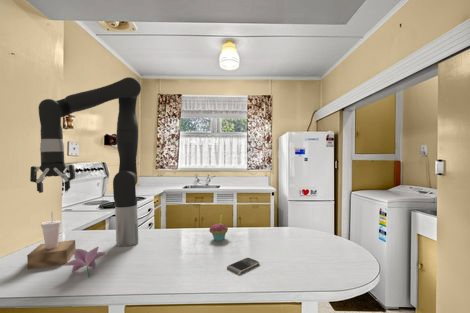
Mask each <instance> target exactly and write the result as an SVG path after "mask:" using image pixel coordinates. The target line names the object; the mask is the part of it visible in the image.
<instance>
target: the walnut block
mask: <svg viewBox="0 0 470 313" xmlns="http://www.w3.org/2000/svg"><path fill="white" fill-rule="evenodd" d="M75 249H76V239H73V240H72V239H71V240H63V241H58V246H57V247H55V248H51V249H46V246H45V243H40V244H39V245H38V246H37V247H35V248H34V249H33V250H31V251H30V252H29V253H28V254H27V255H26V258H27V259H26V260H27V261H26V262H27V269H28V270H31V269H36V268H37V269H38V268H42V267H50V266H51V267H52V266H57V264H58V265H62V264H63V263H65V264H66V263H68V262H70V261H71V260H70V259H71V258H72V257H73V256H74V250H75ZM63 265H64V264H63Z"/></svg>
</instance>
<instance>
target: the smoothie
mask: <svg viewBox="0 0 470 313" xmlns="http://www.w3.org/2000/svg"><path fill="white" fill-rule="evenodd" d="M50 212H51V213H50V214H51V215H50V216H51V220H48V221H43V222H42V223H40V227H41V229H42V236H43V239H44V244H45V246H46V249H51V248H55V247H57V246H58V242H59V237H60V229H61V224H62V221H61V220H59V219H58V220H55V219H54V211H53V210H51V211H50Z"/></svg>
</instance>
